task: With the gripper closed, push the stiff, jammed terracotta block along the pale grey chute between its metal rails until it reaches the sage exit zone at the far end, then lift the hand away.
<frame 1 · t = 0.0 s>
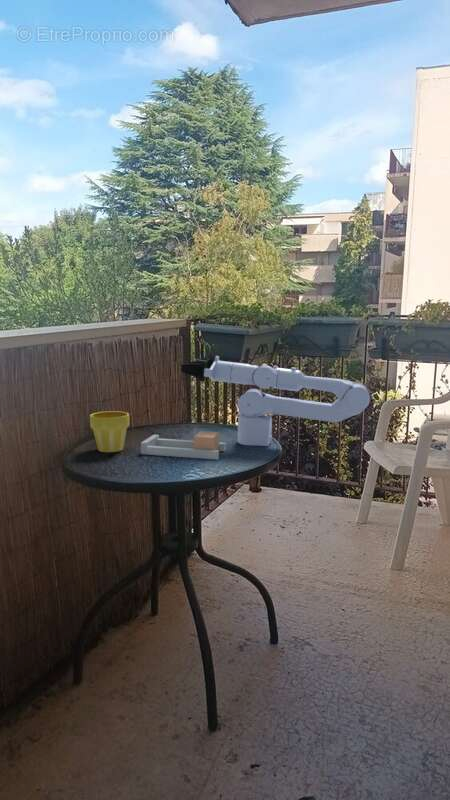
hand: (185, 366, 150), 22 cm above the table, tool horizontal, fingers open, 7 cm apart
plant pot: (110, 450, 144), on the table
block: (206, 443, 137), point 4 cm above the table, slide at 0.0 cm
chute: (184, 455, 139), on the table
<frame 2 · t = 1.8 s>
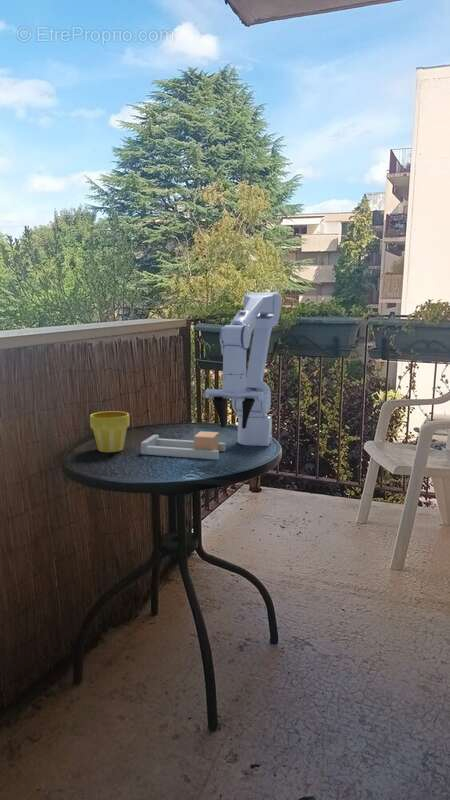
hand: (233, 427, 135), 8 cm above the table, tool pointing down, fingers open, 5 cm apart
nothing on the table moved.
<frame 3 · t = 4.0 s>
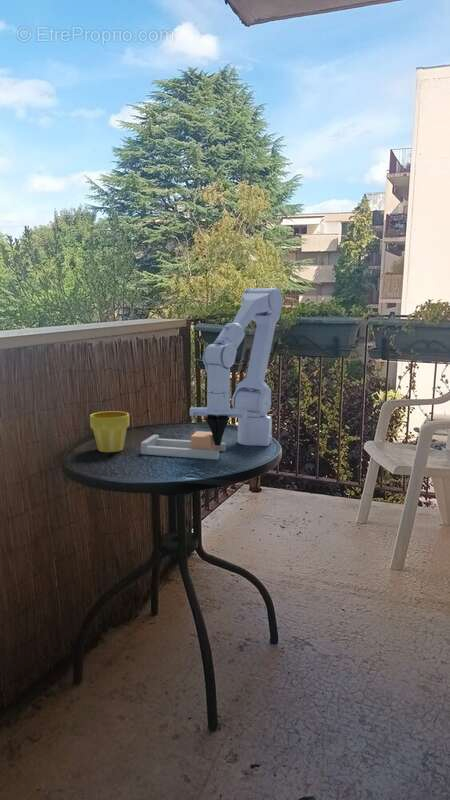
hand: (217, 444, 136), 4 cm above the table, tool pointing down, fingers closed
block: (203, 443, 137), point 4 cm above the table, slide at 0.8 cm, touching gripper
everything else where it was.
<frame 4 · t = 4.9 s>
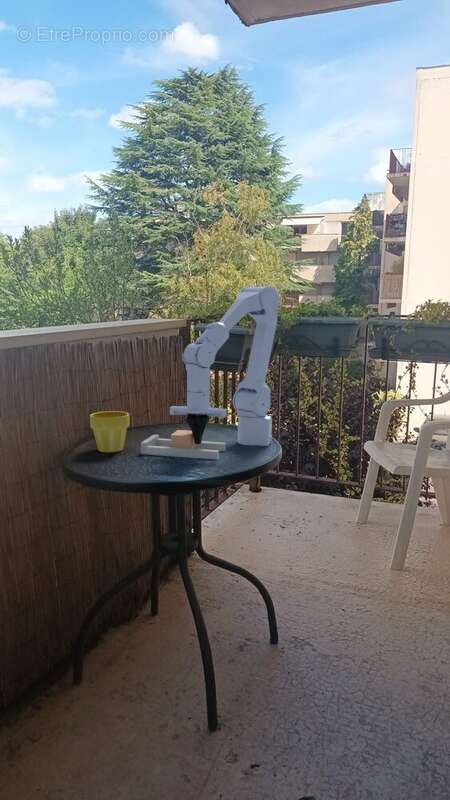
hand: (198, 443, 137), 4 cm above the table, tool pointing down, fingers closed
block: (183, 442, 138), point 4 cm above the table, slide at 6.1 cm, touching gripper
everything else where it was.
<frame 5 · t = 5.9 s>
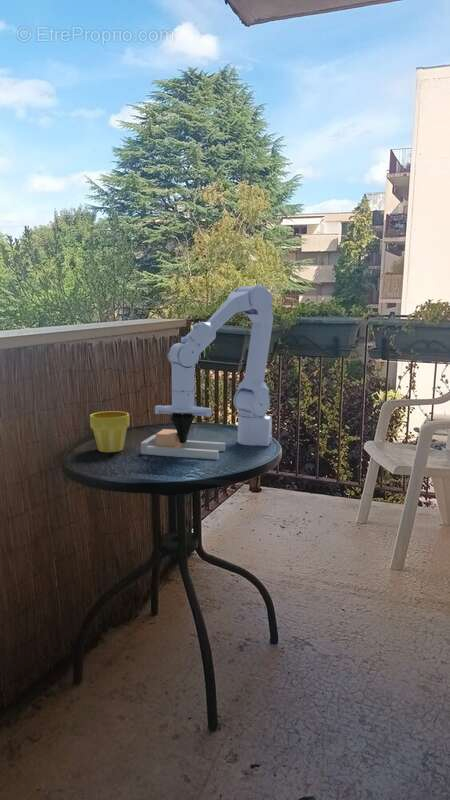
hand: (183, 442, 138), 4 cm above the table, tool pointing down, fingers closed
block: (169, 441, 139), point 4 cm above the table, slide at 10.1 cm, touching gripper
everything else where it was.
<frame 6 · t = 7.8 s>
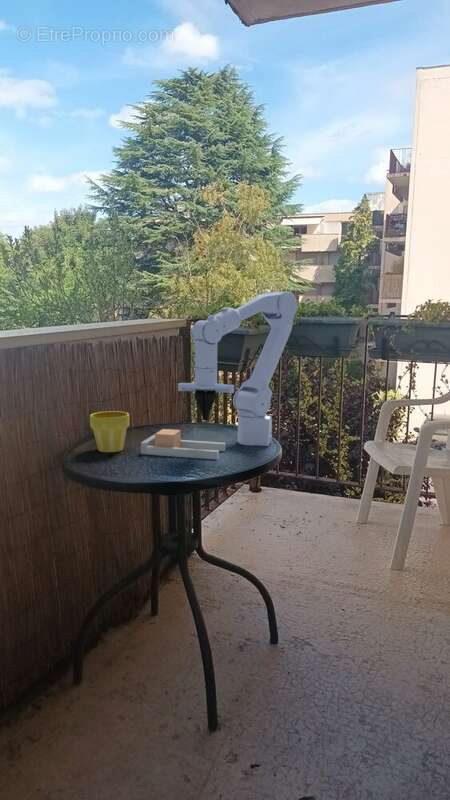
hand: (205, 419, 139), 9 cm above the table, tool pointing down, fingers closed
block: (168, 441, 139), point 4 cm above the table, slide at 10.3 cm
everything else where it was.
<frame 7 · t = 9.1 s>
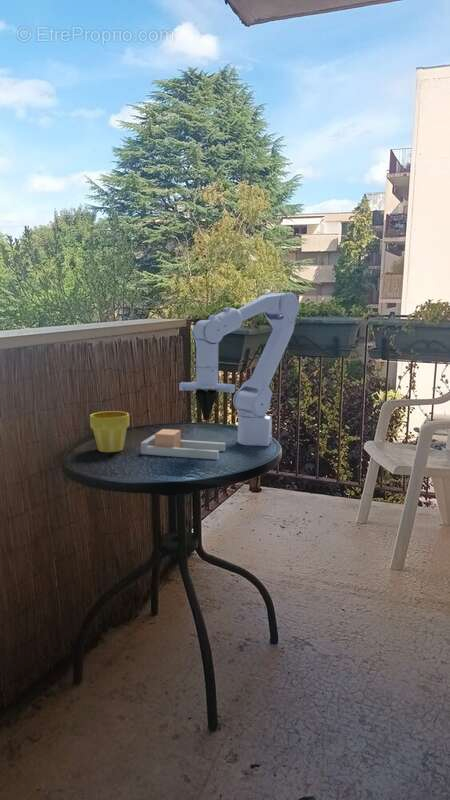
hand: (206, 418, 140), 9 cm above the table, tool pointing down, fingers closed
nothing on the table moved.
at the end: block slide at 10.3 cm; the gripper is holding nothing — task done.
